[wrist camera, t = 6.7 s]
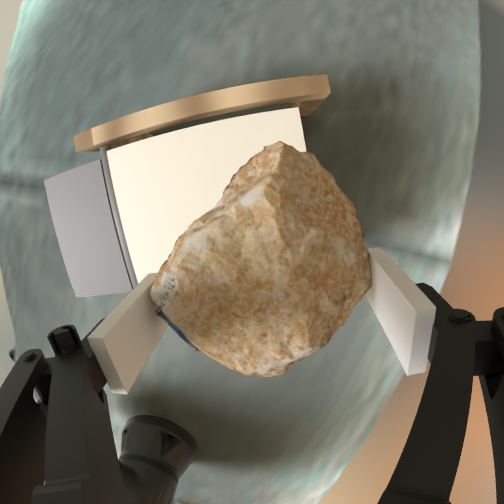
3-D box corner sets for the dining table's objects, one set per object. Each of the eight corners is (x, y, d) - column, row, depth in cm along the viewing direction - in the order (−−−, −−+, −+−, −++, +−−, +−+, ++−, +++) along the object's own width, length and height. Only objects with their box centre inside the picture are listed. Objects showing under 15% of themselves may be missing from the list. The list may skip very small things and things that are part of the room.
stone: (148, 275, 17) (112, 314, 12) (283, 128, 14) (286, 118, 10) (257, 367, 18) (252, 421, 14) (395, 249, 15) (432, 283, 11)
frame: (167, 269, 40) (121, 322, 27) (138, 138, 35) (73, 135, 22) (329, 247, 38) (355, 296, 24) (308, 103, 33) (326, 73, 19)
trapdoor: (102, 287, 32) (79, 306, 28) (71, 166, 28) (41, 170, 24) (315, 258, 30) (323, 279, 25) (293, 110, 25) (297, 100, 21)
